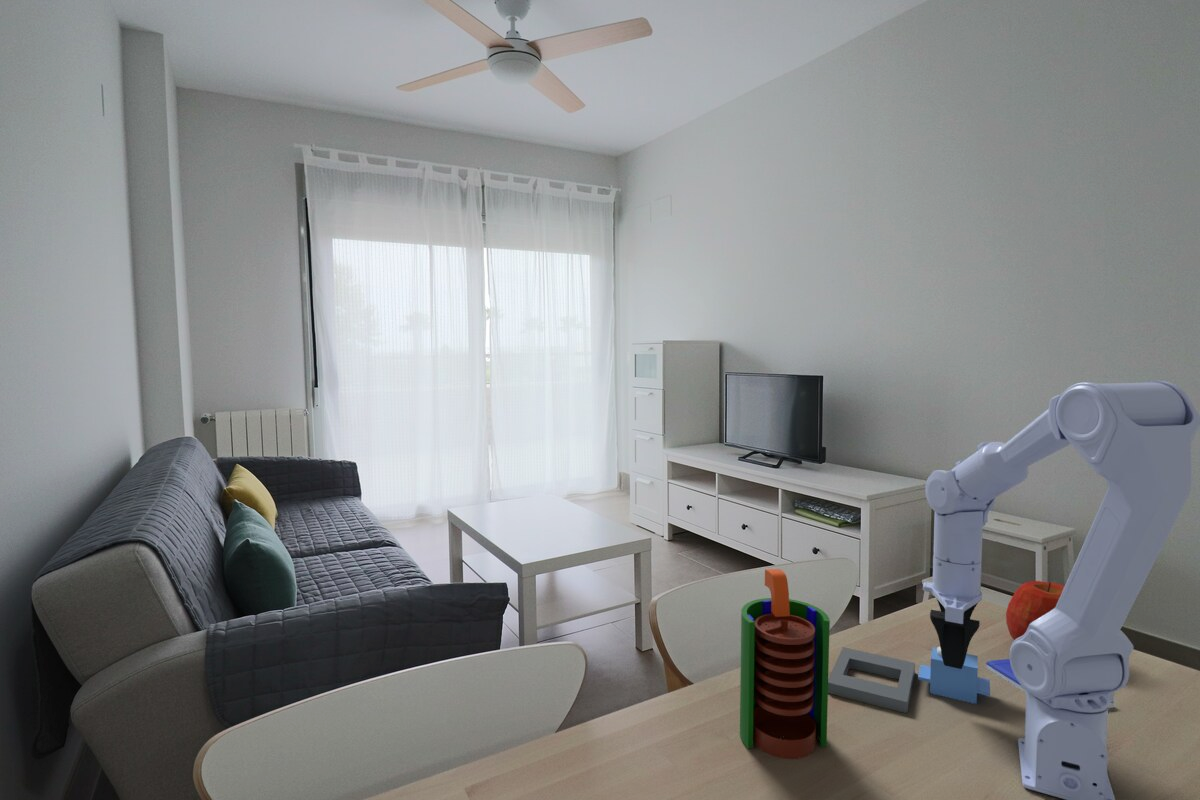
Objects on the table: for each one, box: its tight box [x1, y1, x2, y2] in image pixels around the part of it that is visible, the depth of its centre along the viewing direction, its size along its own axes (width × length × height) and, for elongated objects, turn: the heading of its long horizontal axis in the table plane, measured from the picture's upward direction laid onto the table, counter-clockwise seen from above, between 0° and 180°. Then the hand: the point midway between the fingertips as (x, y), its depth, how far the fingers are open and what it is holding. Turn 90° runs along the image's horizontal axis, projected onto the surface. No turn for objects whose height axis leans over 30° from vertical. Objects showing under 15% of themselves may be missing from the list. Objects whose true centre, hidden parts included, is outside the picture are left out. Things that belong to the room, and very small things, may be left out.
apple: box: [1005, 580, 1065, 641], centre depth 98 cm, size 11×11×11 cm
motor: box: [739, 568, 831, 760], centre depth 76 cm, size 10×9×20 cm
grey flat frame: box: [828, 646, 916, 714], centre depth 89 cm, size 12×10×2 cm
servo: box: [917, 646, 991, 705], centre depth 86 cm, size 4×8×6 cm, turn 59°
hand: (953, 654), depth 86 cm, fingers open, 7 cm apart
